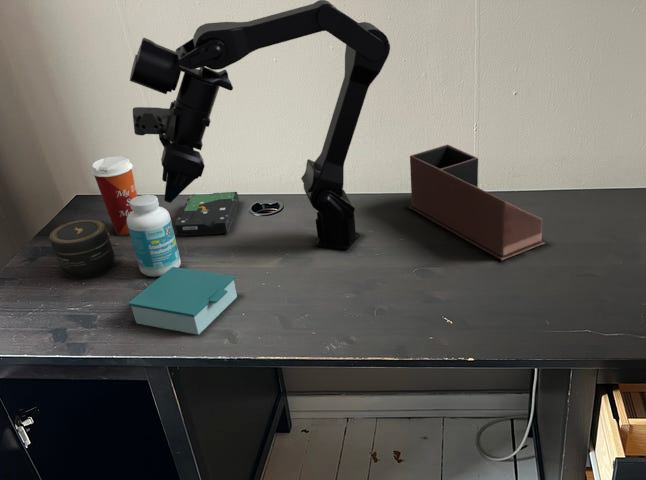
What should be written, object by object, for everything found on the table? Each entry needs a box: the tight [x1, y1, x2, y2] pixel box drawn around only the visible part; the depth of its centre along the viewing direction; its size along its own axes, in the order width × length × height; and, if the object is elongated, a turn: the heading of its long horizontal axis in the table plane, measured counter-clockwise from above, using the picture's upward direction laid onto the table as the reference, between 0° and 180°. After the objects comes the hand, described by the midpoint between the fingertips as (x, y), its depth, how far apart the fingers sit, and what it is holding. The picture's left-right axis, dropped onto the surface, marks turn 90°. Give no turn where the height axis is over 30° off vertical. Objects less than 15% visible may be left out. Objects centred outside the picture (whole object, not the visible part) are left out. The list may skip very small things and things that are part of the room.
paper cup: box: [91, 155, 138, 236], centre depth 145 cm, size 8×8×14 cm
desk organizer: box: [408, 144, 546, 262], centre depth 140 cm, size 10×29×11 cm, turn 34°
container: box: [128, 267, 238, 336], centre depth 122 cm, size 14×12×4 cm
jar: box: [48, 219, 115, 280], centre depth 134 cm, size 10×10×8 cm
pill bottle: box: [127, 194, 182, 278], centre depth 131 cm, size 8×7×14 cm
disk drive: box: [174, 191, 240, 236], centre depth 151 cm, size 10×3×15 cm
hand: (166, 191), depth 126 cm, fingers open, 9 cm apart
